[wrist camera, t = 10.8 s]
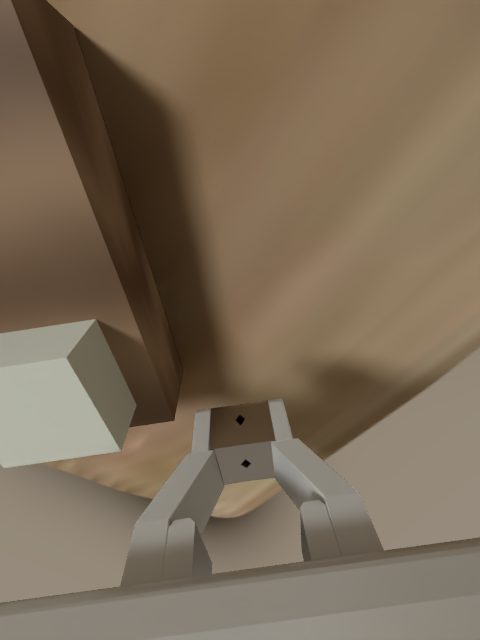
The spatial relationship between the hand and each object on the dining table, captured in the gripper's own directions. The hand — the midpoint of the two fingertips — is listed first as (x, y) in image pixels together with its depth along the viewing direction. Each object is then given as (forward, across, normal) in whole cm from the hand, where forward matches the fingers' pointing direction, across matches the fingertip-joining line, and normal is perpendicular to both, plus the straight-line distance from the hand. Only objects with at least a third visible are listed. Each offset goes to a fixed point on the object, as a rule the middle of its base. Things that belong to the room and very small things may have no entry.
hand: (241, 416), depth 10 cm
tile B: (+3, +8, 0) cm, 8 cm away
